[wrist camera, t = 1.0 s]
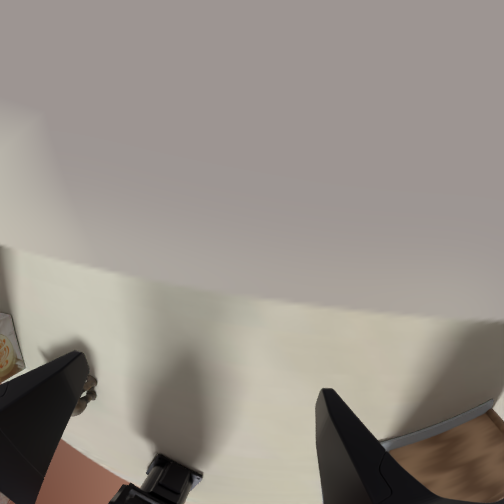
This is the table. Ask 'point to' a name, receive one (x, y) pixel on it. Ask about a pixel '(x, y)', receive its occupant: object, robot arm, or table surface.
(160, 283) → the table surface
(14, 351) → the coffee box
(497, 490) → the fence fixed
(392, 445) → the card
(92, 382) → the rhino figurine
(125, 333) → the table surface
